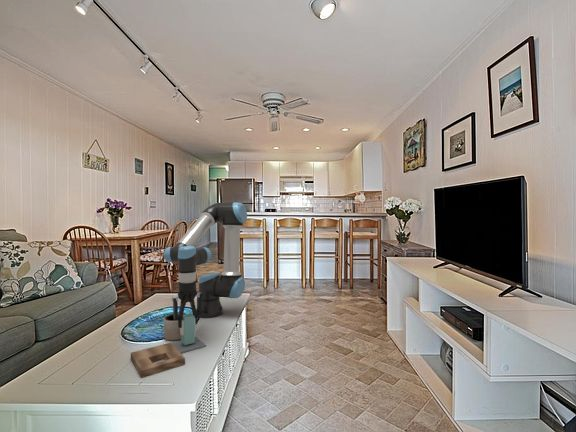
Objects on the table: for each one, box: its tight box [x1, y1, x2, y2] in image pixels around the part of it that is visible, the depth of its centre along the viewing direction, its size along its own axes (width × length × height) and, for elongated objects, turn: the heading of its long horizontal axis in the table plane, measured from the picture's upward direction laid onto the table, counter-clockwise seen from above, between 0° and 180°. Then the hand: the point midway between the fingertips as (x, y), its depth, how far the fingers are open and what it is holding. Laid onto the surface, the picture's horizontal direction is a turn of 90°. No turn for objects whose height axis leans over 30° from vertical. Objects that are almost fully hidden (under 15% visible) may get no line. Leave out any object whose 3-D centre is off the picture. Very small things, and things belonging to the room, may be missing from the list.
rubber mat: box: [170, 336, 207, 354], centre depth 141 cm, size 12×12×1 cm
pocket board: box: [130, 342, 186, 379], centre depth 126 cm, size 16×18×2 cm
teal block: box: [181, 313, 196, 345], centre depth 141 cm, size 4×4×12 cm
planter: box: [163, 312, 186, 342], centre depth 151 cm, size 11×11×10 cm
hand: (187, 332), depth 141 cm, fingers closed on teal block, 4 cm apart
